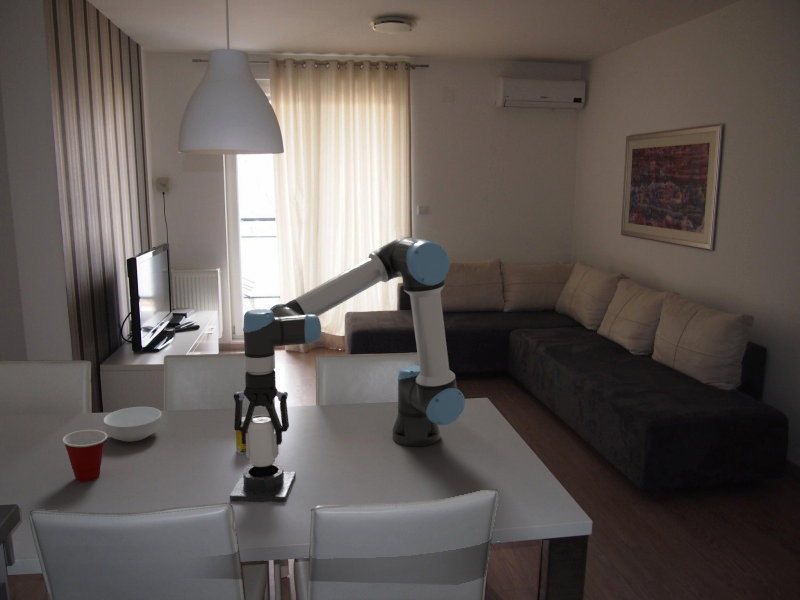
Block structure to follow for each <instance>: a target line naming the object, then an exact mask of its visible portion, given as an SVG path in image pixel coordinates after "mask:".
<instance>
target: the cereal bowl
mask: <svg viewBox="0 0 800 600" xmlns="http://www.w3.org/2000/svg"><path fill="white" fill-rule="evenodd" d="M162 421H163V419H162V411H161V410H160V409H158V408H156V407H152V406H151V407H150V406H133V407H127V408H126V407H125V408H121V409H118V410H115V411H113V412H110V413H108V414H107V415H105V417H103V426H104V432H105V433H106V434H107V436H110V437H111V438H112V439H115V440H117V441H118V440H119V441H123V442H131V443H133V442H139V441H142V440H144V439H146V438H147V437H149V436H151V435H153V434H155V433H156V432H157V430H159V428H160V426H161V424H162Z"/></svg>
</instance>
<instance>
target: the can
mask: <svg viewBox="0 0 800 600" xmlns="http://www.w3.org/2000/svg"><path fill="white" fill-rule="evenodd" d="M274 431H275V429H274V426H273V424H272V421H271V418H270V416H269V414H268V415H267V414H260V415H254V416H252V418H251V419H250V423H249V450H250V457H249V463H250V465H253V466H255V467H267V466H270V465H272V464H273V463H275V461H276V458H273V433H274Z"/></svg>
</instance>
